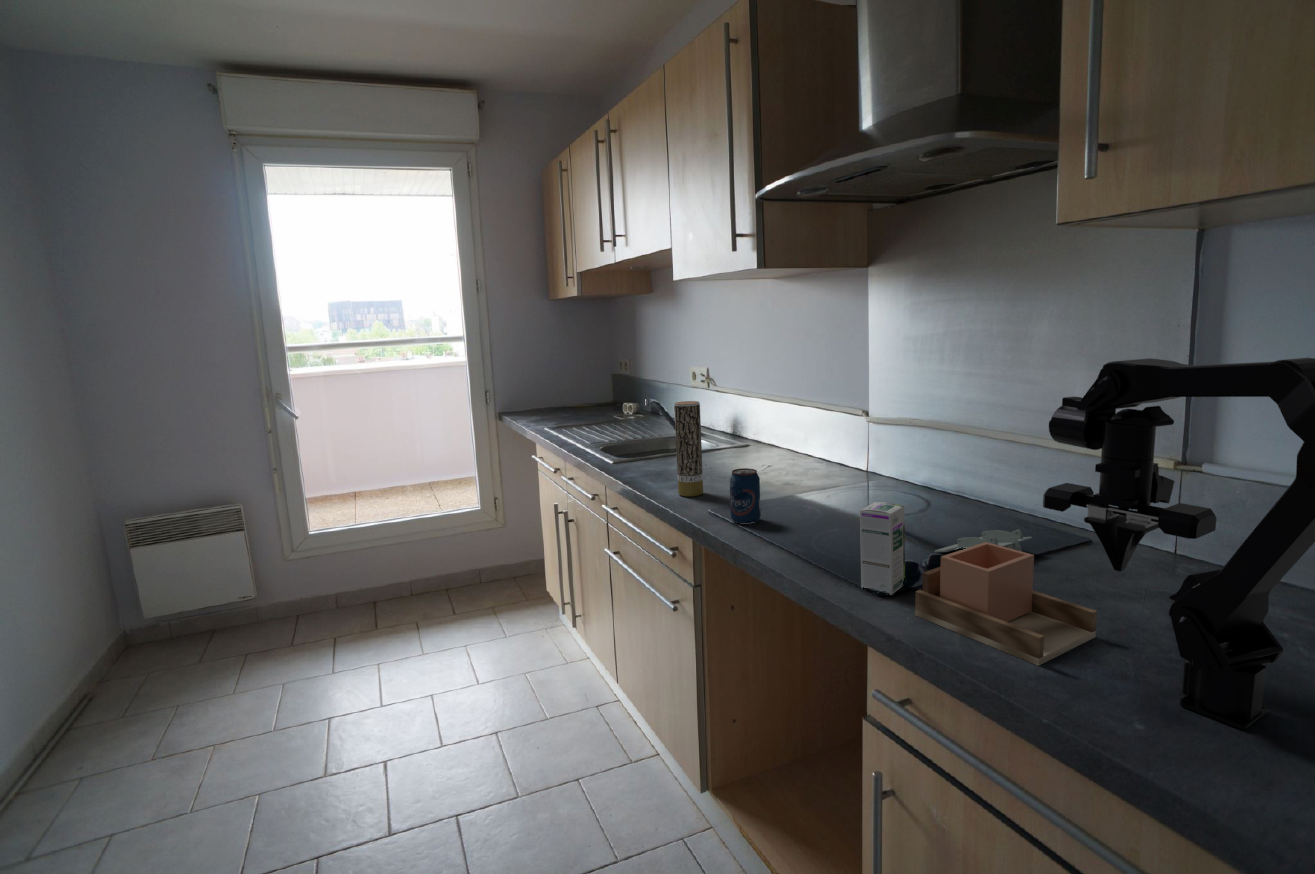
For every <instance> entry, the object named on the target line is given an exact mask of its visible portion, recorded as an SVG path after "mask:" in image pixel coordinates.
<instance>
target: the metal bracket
mask: <svg viewBox="0 0 1315 874" xmlns="http://www.w3.org/2000/svg"><path fill="white" fill-rule="evenodd" d="M1030 539H1033V536H1024V535H1023V532H1022V530H1021V529H1020V528H1017V529H1015V530H1013V531H1011V532H1010V531H1006V530H1002V529H1001V530H1000V529H997V530H996V529H994V530H984V531H982V532H981V536H979V537H976V536H971V537H959V538H957V540H956V542H957V544H952V545H949V546H944V547H942V548H939V549H935V550H934V553H948V552H951V551H958V550H957V549H959V548H961V547H963V548H969V547H972V546H975V545H978V544H981V543H984V542H988V543H992V544H996V545H999V546H1003V547H1007V548H1010V549H1014V550H1017V551H1021V552H1023V550H1022V546H1021V543H1020V542H1023V541H1027V540H1030Z"/></svg>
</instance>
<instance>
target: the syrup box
mask: <svg viewBox="0 0 1315 874" xmlns="http://www.w3.org/2000/svg"><path fill="white" fill-rule="evenodd" d="M905 509H906V508H905V506H904V505H902V504H897V503H892V502H885V501H884V502H881V501H878V502H877V501H873V502H872V503H871V504H869V505H867V506H865V507H863V508H862V509H860V510H859V526H860V527H859V529H860V530H859V535H860V536H859V537H860V586H861V589H863V587H864V588H873V589H876V590H879V591H886V592H887V593H889V596H893V595H894V594H895V593H896V592H898V591H899V590H900V589H901V588H902V587H903V586H904V585H903V581H904V578H905V579H906V545H905V544H906V534H905V533H906V532H905V531H906V528H905V527H906V525H905V523H906V522H905V521H906V519H905V518H906V517H905V516H906V513H905ZM902 585H903V586H902Z"/></svg>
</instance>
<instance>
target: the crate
mask: <svg viewBox="0 0 1315 874" xmlns="http://www.w3.org/2000/svg"><path fill="white" fill-rule="evenodd" d="M1034 562H1035V555H1034V554H1031V553H1028V552H1025V551H1022V552H1021V551H1017V550H1014V549H1010V548H1007V546H1004V547H1003V546H999V545H996V544H992V543H988V542H984V543H981V544H978V545H975V546H972V547H969V548H966V549H963V550H956V551H954V552H951V553H947V554H944V555H942V556H940V567H941V571H940V598H943V599H946V600H948V601H951V602H954V603H957V604H959V605H962V606H965V607H967V608H970V609H973V610H976V611H978V612H981V613H984V614H986V615H989V616H992V617H995V618H997V619H1000V620H1003V621H1005V622H1008V621H1010V620H1013V619H1015V618H1017V617H1020V616H1022V615H1024V614H1026V613H1029V612H1031V611H1032V590H1033V587H1034V586H1033V585H1034V582H1033V581H1034V566H1035V564H1034ZM1033 591H1034V590H1033Z"/></svg>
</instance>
